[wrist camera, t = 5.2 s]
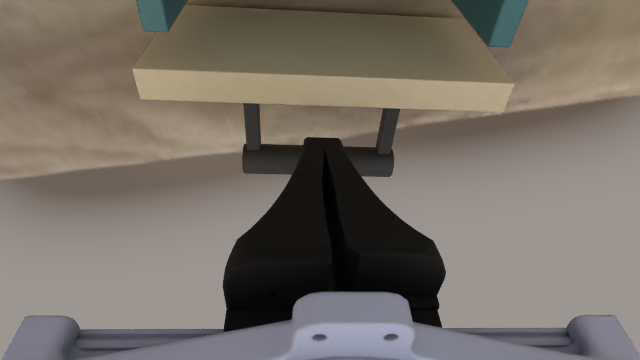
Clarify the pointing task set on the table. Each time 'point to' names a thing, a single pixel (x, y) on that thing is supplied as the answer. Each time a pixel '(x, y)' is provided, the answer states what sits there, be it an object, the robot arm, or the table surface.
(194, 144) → the table surface
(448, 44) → the drawer
